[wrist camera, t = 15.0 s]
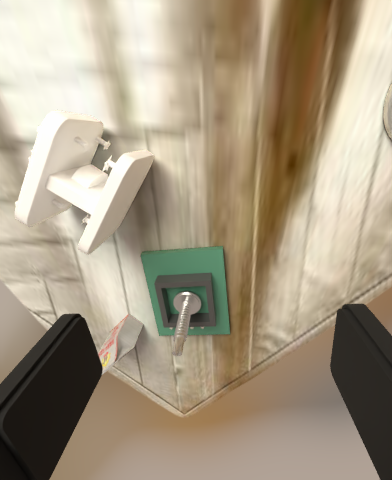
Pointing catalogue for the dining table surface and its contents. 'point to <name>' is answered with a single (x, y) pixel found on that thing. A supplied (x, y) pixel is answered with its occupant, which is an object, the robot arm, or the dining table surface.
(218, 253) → the board
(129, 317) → the tea bag
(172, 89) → the dining table surface
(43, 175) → the cable organizer
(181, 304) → the screw
